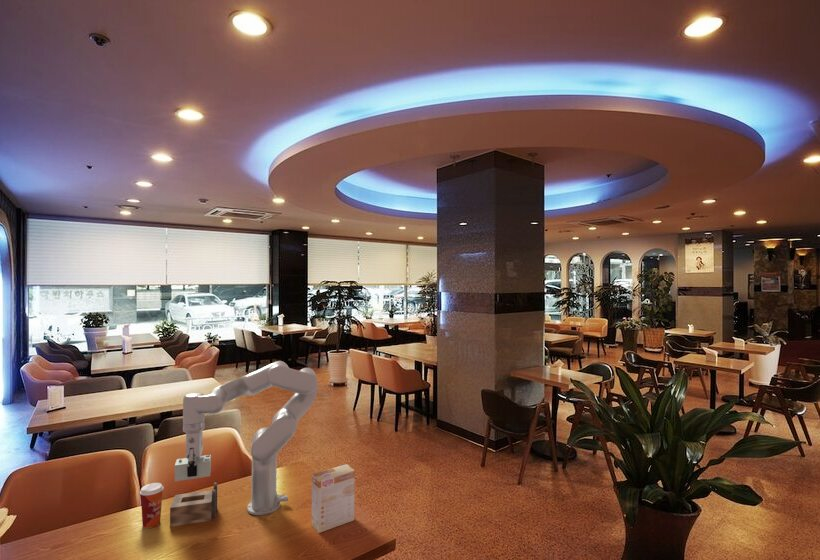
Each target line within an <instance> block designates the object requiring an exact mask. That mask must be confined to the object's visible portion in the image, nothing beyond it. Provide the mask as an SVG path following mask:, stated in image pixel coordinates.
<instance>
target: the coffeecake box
mask: <svg viewBox="0 0 820 560" xmlns="http://www.w3.org/2000/svg"><path fill="white" fill-rule="evenodd" d="M355 472H356V471H355V469H354V468H352V467H351V466H350V465H349V464H346V463H345V464H342V465H339V466H335V467H332V468H328V469H324V470H322V471H317V472H314V473H311V526H312V528H314V529H315V531H316V532H317V534H321V533H323V532H325V531H329V530H330V529H334V528H336V527H340V526H342V525H346V524H348V523H350V522H353V521H355V487H356V485H355V484H356V483H355V481H356V480H355Z"/></svg>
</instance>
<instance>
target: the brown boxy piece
mask: <svg viewBox="0 0 820 560" xmlns="http://www.w3.org/2000/svg"><path fill="white" fill-rule="evenodd" d="M217 509H218V482H214V483H213V489H210V490H203V491H196V492H195V491H194V492H189V493H179V494H175V495H174V498H173V499H172V503H171V504H170V508H169V527H177V526H183V525H188V524H196V523H197V524H198V523H204V522H211V521H212V519H216V511H217Z"/></svg>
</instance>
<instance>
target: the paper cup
mask: <svg viewBox="0 0 820 560" xmlns="http://www.w3.org/2000/svg"><path fill="white" fill-rule="evenodd" d="M163 490H164V485H162V483H161V482H151V483H148V484H145V485H144V486H142V487H141V489H140V491H139V494H140V503H141V507H140V508H141V520H142V522H141V523H142V527H143V529H152V528H154V527H157V526H159V524H160V523H161V517H162V515H161V514H162V504H163V503H162V502H163Z"/></svg>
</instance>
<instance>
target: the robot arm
mask: <svg viewBox="0 0 820 560" xmlns="http://www.w3.org/2000/svg"><path fill="white" fill-rule="evenodd" d="M317 377H318V376H317V374H316V372H315V370H314V369H312V368H310V367H303V368H301V369H300V370H297V369H294V368H290V367H289V366H288V364H287V363H286V362H284V360H283V361H282V360H278V361H273V362H272V363H270V364H267V365H266V366H265V365H264V366H263V367H261V368H259V369H256V370H255V371H252V372H250V373H248V374H245V375H243V376H240V377H238V378H235V379H233V380H230V381H227V382H226V383H223V384H221V385H219V386H217V387H215V388H213V389H211V390H210V392H209V393H208V394H206V395H205V394H204V393H202V392H189V393H187V394H185V395H184V396H183V398H182V400H183V401H182V432H183V433H185V458H187V459H188V466H187V477H192V476H197V465H196V458H197V457H198V458H199V457H200V456H202V453H203V450H204V442H203V441H204V440H203V439H204V438H203V437H204V436H203V434H204V433H203V430H205V426H206V425H205V422H206V421H205V419H206V417H205V416H206V415H205V414H210V415H211V414H212V415H215V414H218V413H220V412H222V411H223V409H224V407H225V406H226V404H227V403H229V402H231V401H233V400H236V399H237V398H240V397H243V396H254V395H257V394H260V393H262V392H264V391H265V390H268V389H269V388H271V387H274V388H278V389H281V390H285V391H289V392H293V393H294V394H293V395H292V396H291V397H290V399H288V401H286V403H284V405H283V406H282V407H281V408H280V409H279V410H278V411H277V412H275V414H274V415H273V417H272V419H271V420H272V423H271V424H270V425H269V427H268V426H267V427H261V428H259V429H258V430H256V431H255V432H254V434H253V436H252V439H251V443H250V455H251V492H250V493H251V498H250V500H251V501H250V502H249V503H248V505H247V507H246V510H247V512H248V513H249V514H250V515H254V516H266V515H269V514H272V513H274V512H276V511H278V509H280V507H281V502H283V503H284V502H289V496H288V495H285V493H284V494H279V493H278V491H277V469H278V466H277V465H278V462H277V461H278V453H279V452H280V451H281V450H282V449H284V447H285V446H286V445H287V444H288V443H289V442H290V440H291V439H292V438H293V436H295V433H296V432H297V428H298V422H299V421H300V419H301V418H302V417H304V415H305V414H306V413H307V412H308V410H309V409H310V408H311V407H312V405H313V404H314V402H315V401H316V398H317V394H318V390H319V384H318V383H319V381H318V378H317ZM193 459H195V460H194V461H193Z"/></svg>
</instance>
